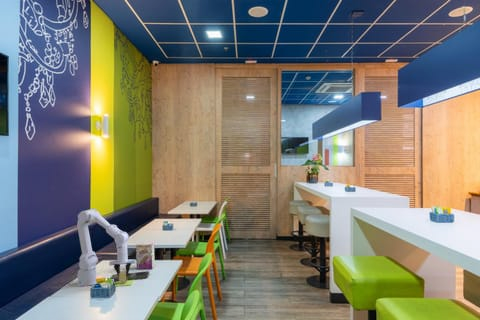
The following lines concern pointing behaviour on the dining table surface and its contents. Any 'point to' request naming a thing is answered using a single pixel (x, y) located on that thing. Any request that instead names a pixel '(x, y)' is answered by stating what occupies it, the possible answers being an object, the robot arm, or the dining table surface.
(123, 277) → the brass nut block
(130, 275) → the graphite rail
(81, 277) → the robot arm
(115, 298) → the dining table surface
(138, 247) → the candy bar box
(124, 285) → the green rubber pad
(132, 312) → the dining table surface
